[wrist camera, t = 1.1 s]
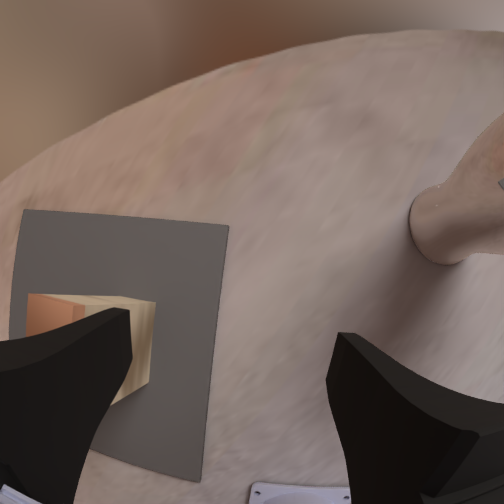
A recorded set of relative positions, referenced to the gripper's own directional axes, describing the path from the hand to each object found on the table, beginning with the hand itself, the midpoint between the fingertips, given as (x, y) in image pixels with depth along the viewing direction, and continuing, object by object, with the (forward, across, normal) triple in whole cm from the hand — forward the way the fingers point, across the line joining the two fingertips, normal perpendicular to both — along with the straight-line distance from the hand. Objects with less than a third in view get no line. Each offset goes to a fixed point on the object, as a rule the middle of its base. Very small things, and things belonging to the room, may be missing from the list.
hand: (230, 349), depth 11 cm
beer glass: (+12, -15, -4) cm, 19 cm away
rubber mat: (+11, +11, +8) cm, 17 cm away
